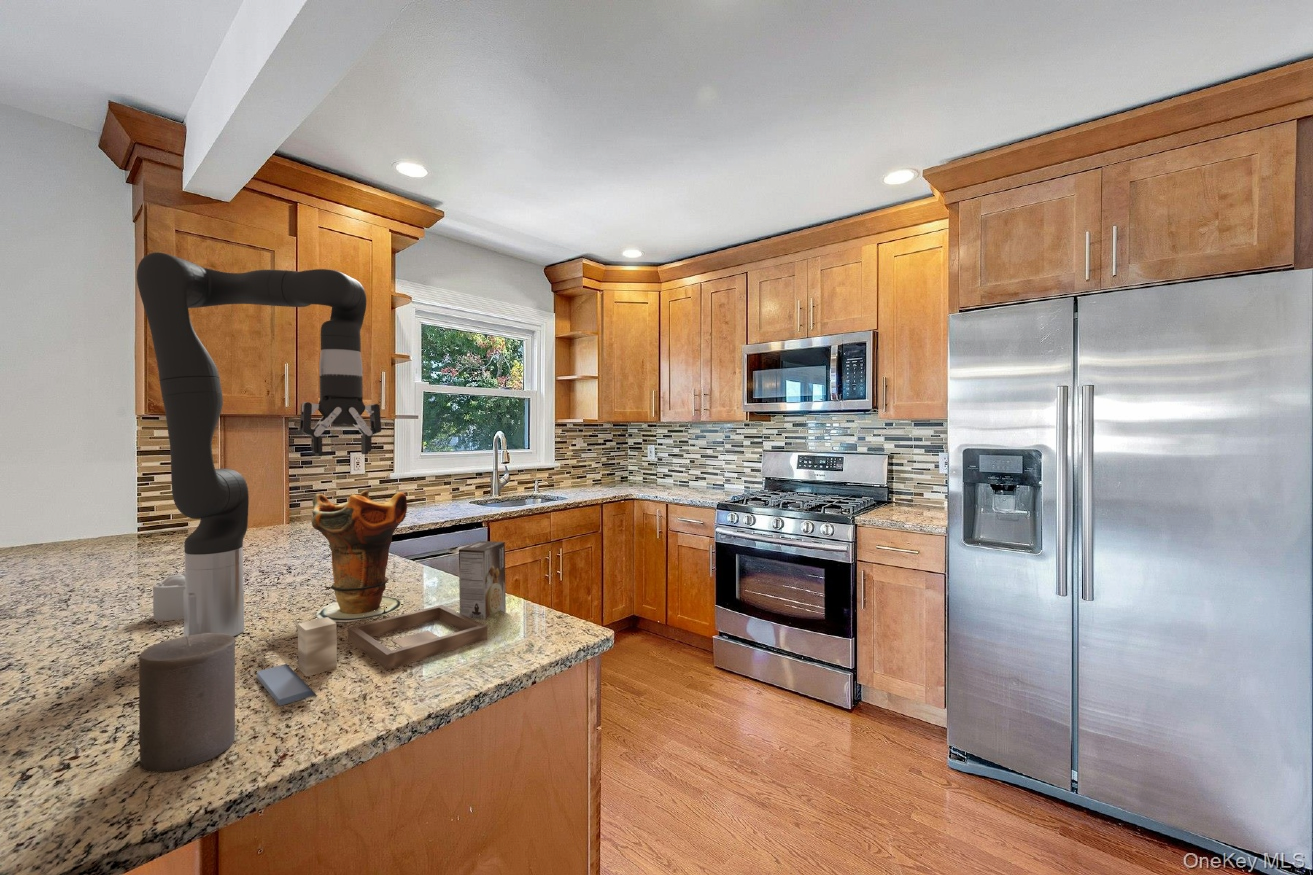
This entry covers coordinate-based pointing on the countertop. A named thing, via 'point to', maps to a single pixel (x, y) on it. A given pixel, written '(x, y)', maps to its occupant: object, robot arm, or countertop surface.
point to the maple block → (317, 646)
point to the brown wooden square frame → (416, 636)
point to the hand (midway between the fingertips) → (342, 455)
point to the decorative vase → (359, 553)
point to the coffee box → (482, 579)
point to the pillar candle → (186, 701)
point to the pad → (284, 684)
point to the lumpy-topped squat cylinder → (169, 598)
